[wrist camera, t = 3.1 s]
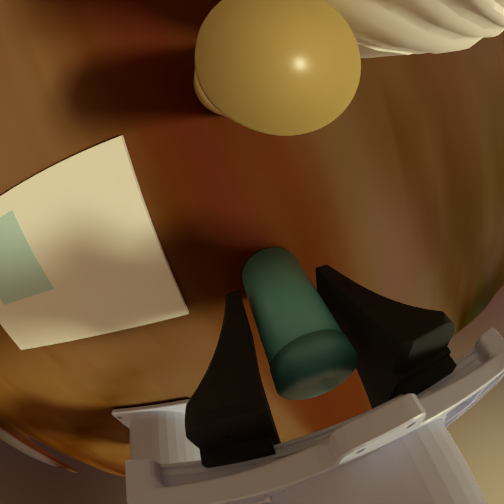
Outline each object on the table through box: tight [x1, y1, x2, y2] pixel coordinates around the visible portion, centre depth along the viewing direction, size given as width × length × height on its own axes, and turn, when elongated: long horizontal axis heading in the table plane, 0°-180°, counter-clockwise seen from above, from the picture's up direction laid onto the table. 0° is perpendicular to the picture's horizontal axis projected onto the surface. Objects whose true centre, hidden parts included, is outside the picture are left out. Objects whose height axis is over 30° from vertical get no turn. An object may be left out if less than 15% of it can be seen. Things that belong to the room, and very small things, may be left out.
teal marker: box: [242, 247, 358, 400], centre depth 12 cm, size 3×3×7 cm
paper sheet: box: [0, 135, 189, 350], centre depth 12 cm, size 10×14×1 cm
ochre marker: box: [194, 0, 361, 136], centre depth 7 cm, size 3×3×7 cm
